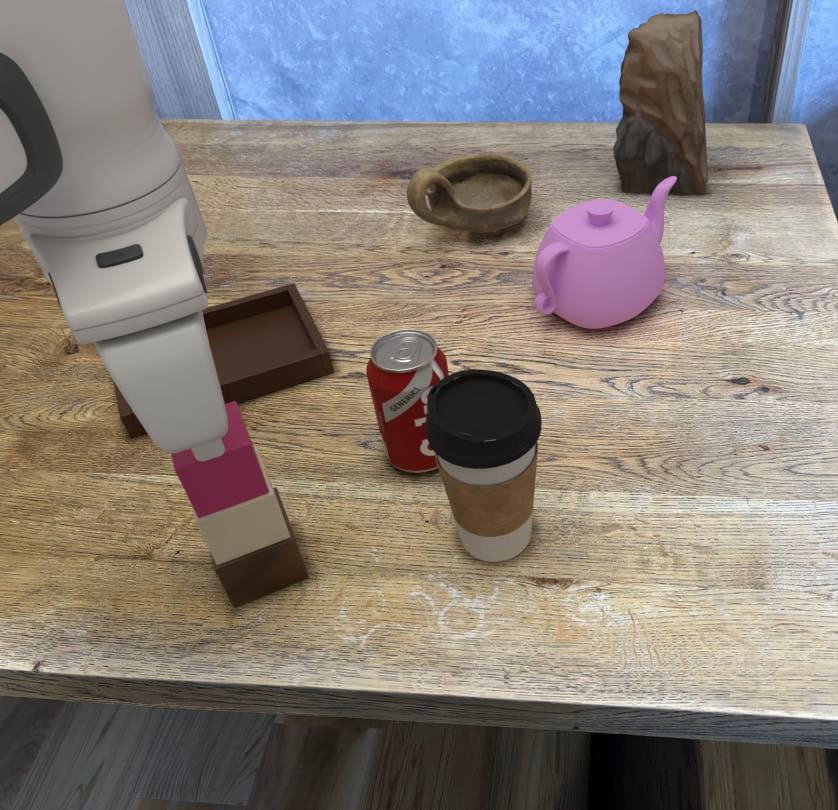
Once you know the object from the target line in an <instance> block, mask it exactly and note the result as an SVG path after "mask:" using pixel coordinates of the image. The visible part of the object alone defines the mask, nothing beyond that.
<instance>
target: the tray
mask: <svg viewBox="0 0 838 810" xmlns="http://www.w3.org/2000/svg"><path fill="white" fill-rule="evenodd" d="M298 289H299V288H298V287H297V285H296V283H294V282H293V283H290V284H286V285H282V286H279V287H275V288H272V289H268V290H264V291H261V292H257V293H254V294H250V295H247V296H244V297H240V298H236V299H233V300H229V301H225V302H222V303H218V304H215V305H211V306H208V307H207V308H206V309H204V310H202V312H203V318H204V323H205V327H206V332H207V336H208V340H209V344H210V348H211V352H212V356H213V360H214V364H215V368H216V372H217V376H218V380H219V383H220V387H221V391H222V395H223V399H224V403H225V404H227V403H230V402H234V401H236V402H237V404H241V403H243V402H246V401H251V400H253V399H256V398H259V397H262V396H266V395H269V394H271V393H274V392H278V391H281V390H284V389H287V388H290V387H293V386H297V385H300V384H302V383H306V382H309V381H312V380H314V379H318V378H321V377H324V376H327V375H330V374H333V373H335V369H334V366H333V361H332V357H331V354H330V351H329V349H328V347H327V345H326V343H325V341H324V339H323V336H322V335H321V333H320V331H319V329H318V327H317V325H316V323H315V321H314V319H313V317H312V315H311V313H310V311H309V309H308V308H307V305H306V303H305V301H304V299H303V297H302V295H301V293H300V291H299V290H298ZM112 380H113V379H112ZM113 387H114V393H115V400H116V404H117V410H118V417H119V418H120V421H121V423H122V424H123V426H124V429H125V430H126V432H127V434H128V436H129V437H130V438H131V439H132V438H135V437H138V436H141V435H145V434H148V433H147V432H146V430H145V429H144V427H143V425H142V424H141V422H140V421H139V419H138V418H137V416H136V415H135V413H134V412H133V410H132V409H131V407H130V406H129V404H128V402H127V401H126V399H125V398H124V396H123V395H122V393H121V391H120V390H119V388H118V387H117V385H116V383H115V382H114V380H113Z"/></svg>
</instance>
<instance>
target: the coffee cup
mask: <svg viewBox="0 0 838 810" xmlns="http://www.w3.org/2000/svg"><path fill="white" fill-rule="evenodd" d="M542 425H543V424H542V412H541V410H540V407H539V405H538V404H537V400H536V396H535V394H534V393H533V391H532V390H531V388H530V387H529V386H528V385H527V384H526V383H525V382H523V381H522V380H521V379H519V378H516V377H515V376H513V375H510V374H508V373H504V372H500V371H497V370H491V369H483V368H481V369H480V368H477V369H476V368H473V369H463V370H458V371H456V372H452V373H449V376H447V377H445V378H443V379H442V380H440V381H439V382H438V383H437V384H436V385H434V386H433V387H432V388H431V389H430V391H429V394H428V399H427V416H426V423H425V427H426V433H427V440H428V442H429V445H430V447H431V448H432V449H433V451H434V452H435V457H436V462H437V465H438V468H437V469H438V471H439V475H440V477H441V480H442V484H443V487H444V491H445V493H446V497H447V500H448V503H449V506H450V509H451V512H452V516H453V518H454V520H455V525H456V528H457V532H458V535H459V536H458V537H459V538H460V539H459V540H460V542H461V544H462V547H463V549H464V550H465V551H466V552H467V553H468V554H469V555H470V556H472V557H473V558H474V559H475V558H476V559H477V560H480V561H483V562H487V563H501V562H505V561H508V560H511V559H514V558H515V557H517V556H518V555H519V554H521V553H523V552H524V550H525V549H526V548H527V546H528V545H529V543H530V541H531V537H532V533H533V532H532V531H533V528H532V527H533V510H534V504H535V491H536V481H537V480H536V479H537V467H538V455H539V454H538V453H539V443H538V441H539V439H540V436H541V433H542V428H543V427H542Z"/></svg>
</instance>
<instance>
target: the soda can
mask: <svg viewBox="0 0 838 810" xmlns="http://www.w3.org/2000/svg"><path fill="white" fill-rule="evenodd" d="M369 357H370V358H369V360H368V362H367V364H366V369H365V373H366V378H367V383H368V386H369V392H370V395H371V400H372V404H373V408H374V413H375V417H376V418H375V419H376V421H377V426H378V430H379V435H380V439H381V444H382V448H383V451H384V452H383V453H384V456H385V458H386V460H387V461H388V463H389V464H390V465H391V466H393V467H394V468H395V469H398V470H401V471H403V472H407V473H415V474H416V473H417V474H419V473H426V472H432V471H434V470H437V469H439V468H438V465H437V462H436V457H435V452H434V451H433V449H432V448H431V447H430V445H429V442H428V440H427V433H426V427H425V423H426V416H427V399H428V394H429V391H430V389H431V388H432V387H433V386H434V385H436V384H437V383H438V382H439V381H440V380H442V379H443V378H445V377H447V376H449V375H450V371H449V365H448V360H447V356H446V354H445V353H444V351H443V350H442V349H441V348H440V347H439V346H438V343H437V340H436V339H435V338H434V336H433V335H432V334H430V333H429V332H426V331H424V330H421V329H416V328H401V329H400V328H399V329H396V330H392V331H390V332H387V333H385V334H383V335H382V336H380V337H379V338H377V339H376V340H375V341H374V342H373V344H372V345H371V347H370V351H369Z"/></svg>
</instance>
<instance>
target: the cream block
mask: <svg viewBox="0 0 838 810" xmlns="http://www.w3.org/2000/svg"><path fill="white" fill-rule="evenodd" d="M254 449H255V451H256V454H257V457H258V460H259V463H260V466H261V469H262V472H263V475H264V478H265V481H266V483H267V486H268V489H269V493H267V494H264V495H262V496H259V497H256V498H253V499H251V500H248V501H245V502H242V503H239V504H237V505H234V506H231V507H228V508H226V509H223V510H220V511H217V512H215V513H212V514H209V515H206V516H203V517H201V518H198V516H197V514H196V512H195V510H194V508H193V506H192V504H191V503H190V505H191V506H190V507H191V509H192V513H193V517H194V521H195V524H196V526H197V528H198V530H199V532H200V534H201V536H202V539H203V541H204V543H205V544H206V546H207V548H208V550H209V553H210V552H211V554H212V556H213V558H214V560H215V562H216V564H217V565H219V564H222V563H225V562H227V561H230V560H232V559H235V558H238V557H240V556H243V555H246V554H248V553H251V552H253V551H256V550H259V549H261V548H264V547H267V546H269V545H272V544H274V543H277V542H280V541H282V540H285V539H288V538H290V534H289V531H288V528H287V526H286V523H285V520H284V517H283V514H282V511H281V508H280V506H279V503H278V500H277V497H276V494H275V491H274V489H273V488H274V486H273V484H272V482H271V478H270V476H269V473H268V470H267V468H266V465H265V463H264V460H263V457H262V455H261V452H260V449H259V447H258V446H254ZM211 554H210V555H211Z"/></svg>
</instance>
